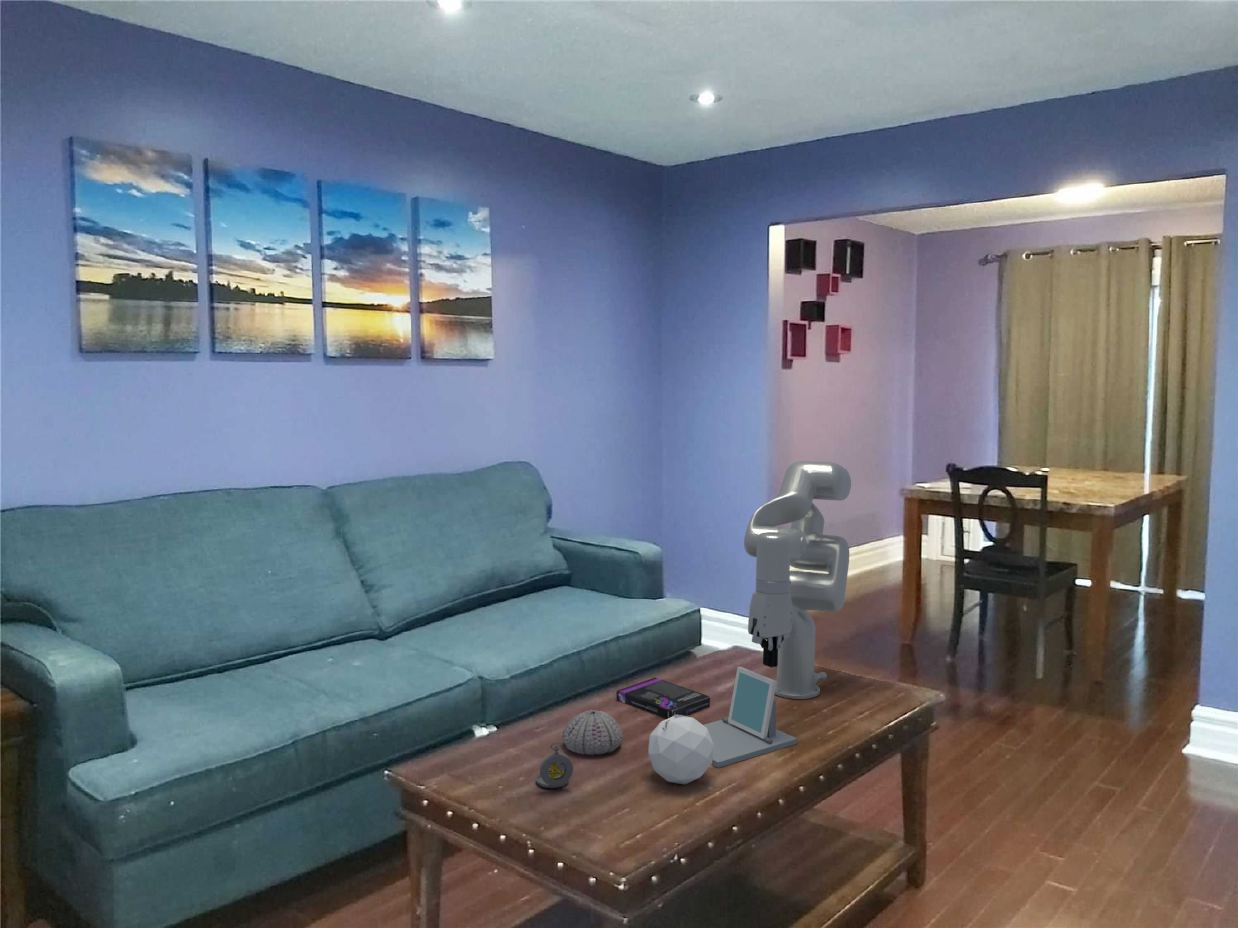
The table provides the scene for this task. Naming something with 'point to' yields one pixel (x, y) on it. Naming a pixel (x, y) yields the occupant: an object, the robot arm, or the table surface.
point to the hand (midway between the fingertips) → (770, 665)
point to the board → (744, 741)
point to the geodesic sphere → (680, 749)
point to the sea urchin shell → (592, 733)
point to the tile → (752, 702)
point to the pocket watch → (555, 769)
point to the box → (663, 698)
